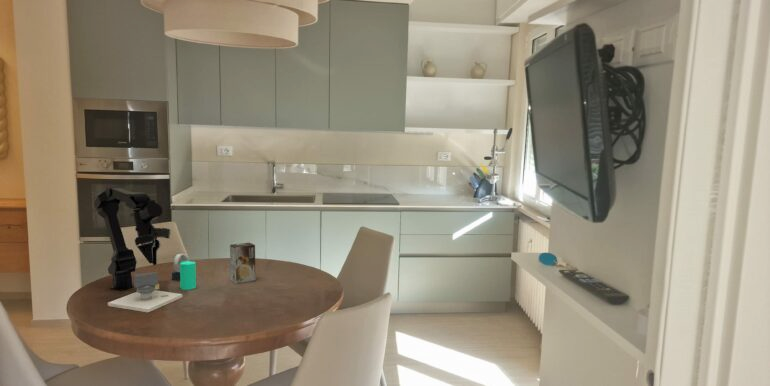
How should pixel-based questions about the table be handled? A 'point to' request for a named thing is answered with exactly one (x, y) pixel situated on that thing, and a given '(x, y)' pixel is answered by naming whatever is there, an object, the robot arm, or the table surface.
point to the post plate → (145, 300)
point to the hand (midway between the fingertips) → (153, 264)
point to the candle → (187, 275)
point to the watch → (180, 259)
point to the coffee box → (242, 262)
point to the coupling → (146, 282)
